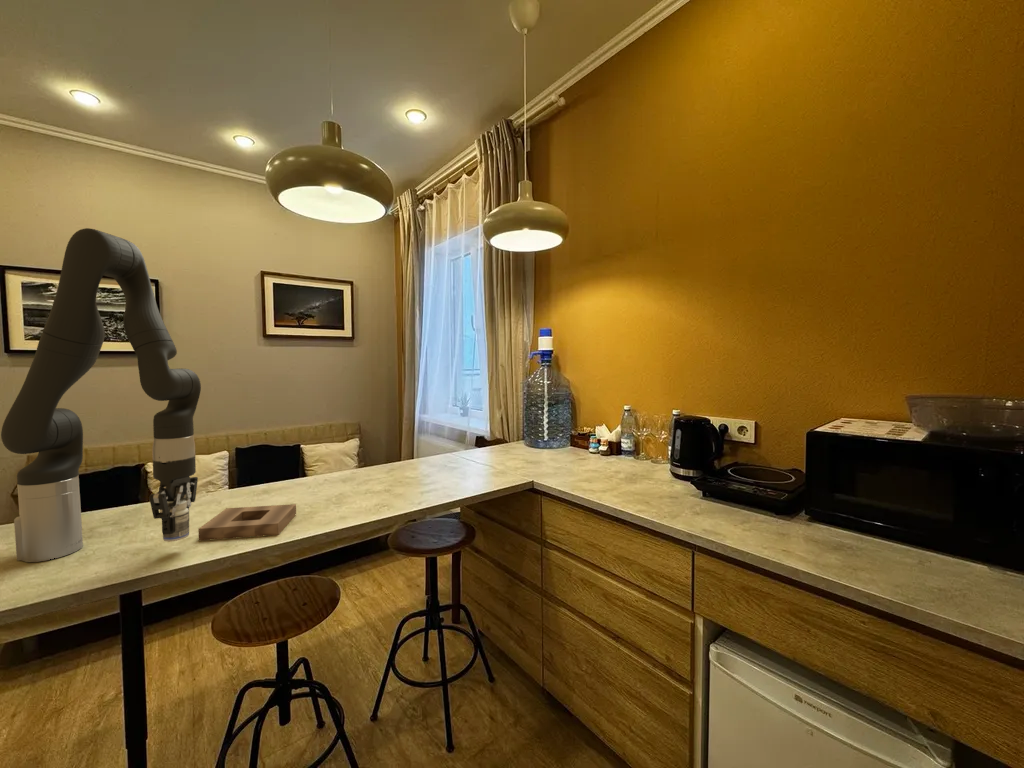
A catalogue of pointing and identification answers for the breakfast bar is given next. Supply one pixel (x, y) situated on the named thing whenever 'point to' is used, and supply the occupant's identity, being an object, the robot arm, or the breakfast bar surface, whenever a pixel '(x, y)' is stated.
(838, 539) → the breakfast bar surface
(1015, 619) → the breakfast bar surface
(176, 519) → the pill bottle
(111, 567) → the breakfast bar surface
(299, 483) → the breakfast bar surface
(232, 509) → the socket block
